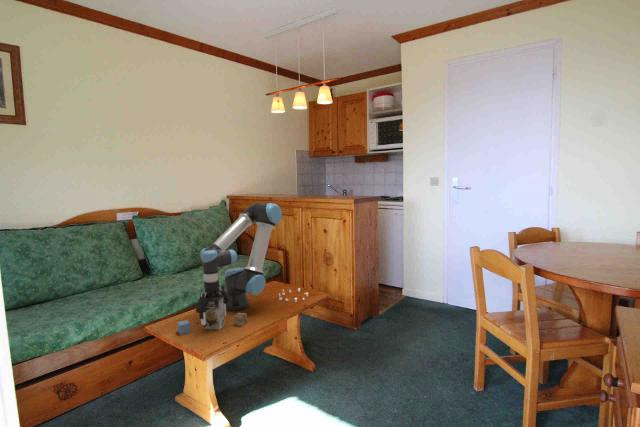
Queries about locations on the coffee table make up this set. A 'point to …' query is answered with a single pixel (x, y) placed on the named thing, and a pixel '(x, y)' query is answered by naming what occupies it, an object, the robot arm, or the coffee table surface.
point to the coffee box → (214, 313)
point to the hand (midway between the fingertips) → (214, 319)
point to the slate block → (183, 327)
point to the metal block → (240, 319)
